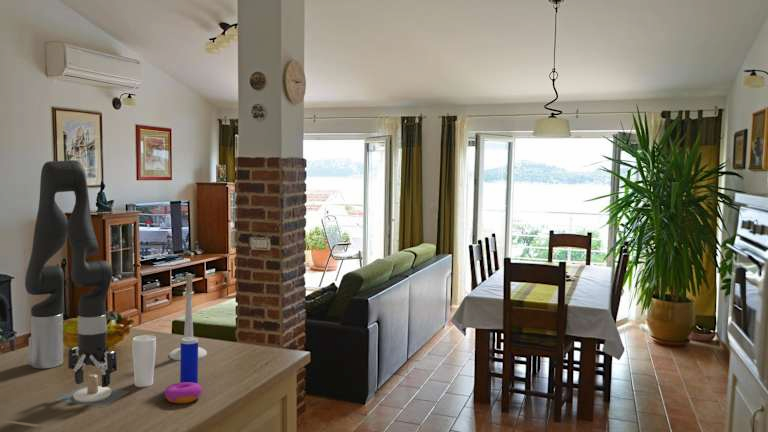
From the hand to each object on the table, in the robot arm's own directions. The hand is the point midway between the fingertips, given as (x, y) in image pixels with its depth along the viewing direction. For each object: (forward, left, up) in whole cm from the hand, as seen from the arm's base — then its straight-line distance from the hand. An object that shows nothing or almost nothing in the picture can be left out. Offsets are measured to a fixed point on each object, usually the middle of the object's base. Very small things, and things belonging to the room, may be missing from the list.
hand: (92, 384), depth 174 cm
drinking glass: (+8, +13, -4) cm, 16 cm away
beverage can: (+21, +17, -4) cm, 27 cm away
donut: (+25, +7, -4) cm, 26 cm away
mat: (0, 0, -4) cm, 4 cm away
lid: (0, 0, -3) cm, 3 cm away
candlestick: (+5, +44, -4) cm, 45 cm away
